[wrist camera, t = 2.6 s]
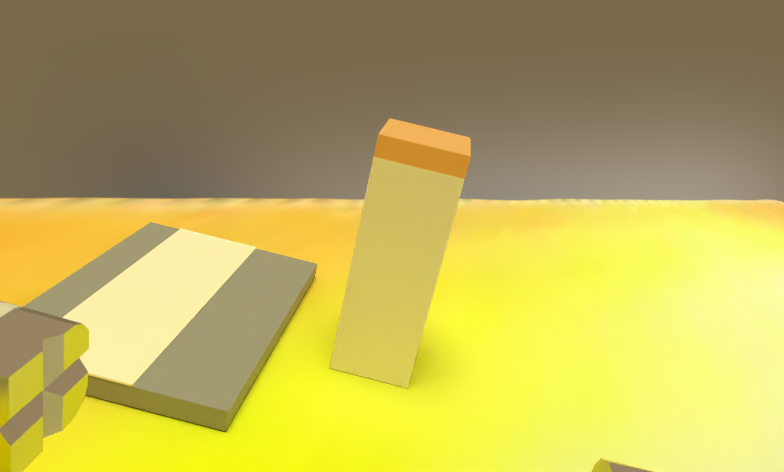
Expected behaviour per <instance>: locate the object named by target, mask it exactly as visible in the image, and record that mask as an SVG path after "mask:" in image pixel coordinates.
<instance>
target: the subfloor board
mask: <svg viewBox="0 0 784 472" xmlns="http://www.w3.org/2000/svg"><path fill="white" fill-rule="evenodd" d="M256 248H257V247H253V246H249V245H245V244H241V243H237V242H233V241H229V240H225V239H221V238H217V237H213V236H209V235H205V234H202V233H198V232H194V231H190V230H186V229H182V228H181V229H176V228H172V227H168V226H164V225H160V224H156V223H152V222H150V223H149V224H147V225H146V226H144V227H143V228H141V229H140V230H138V231H137V232H135V233H134V234H132V235H131V236H129V237H128V238H126V239H125V240H123V241H122V242H120V243H119V244H117V245H116V246H114V247H113V248H111V249H110V250H108V251H107V252H105V253H104V254H102V255H101V256H99V257H98V258H96V259H94V260H93V261H91V262H90V263H88V264H87V265H85V266H84V267H82V268H81V269H79V270H78V271H76V272H75V273H73V274H72V275H70V276H69V277H67V278H66V279H64V280H63V281H61V282H60V283H58V284H57V285H55V286H54V287H52V288H51V289H49V290H48V291H46V292H45V293H43V294H41V295H40V296H38V297H37V298H35V299H34V300H32V301H31V302H29V303H28V304H26V305H25V306H23V307H26V308H29V309H33V310H36V311H40V312H43V313H47V314H50V315H54V316H58V317H61V318H65V319H68V320H72V321H75V322H79V323H82V324H84V325H85V326H86V327H87V328H88V330H89V349H88V350H87V351H86V352H85V353H84V354H83V355H82V356H81V357H79V358H80V360H81V361H82V363H83V364H84V366H85V368H86V369H87V371H88V386H87V389H86V393H85V395H88V396H92V397H96V398H100V399H104V400H107V401H111V402H115V403H119V404H123V405H127V406H130V407H134V408H138V409H142V410H146V411H149V412H153V413H157V414H161V415H165V416H168V417H172V418H176V419H180V420H184V421H188V422H191V423H195V424H199V425H203V426H207V427H210V428H214V429H218V430H222V431H226V430H227V428H228V426H229V425H230V423H231V421H232V419H233V418H234V416H235V414H236V413H237V411H238V409H239V407H240V406H241V404H242V402H243V400H244V399H245V397H246V395H247V394H248V392H249V390H250V388H251V387H252V385H253V383H254V381H255V380H256V378H257V376H258V375H259V373H260V371H261V369H262V368H263V366H264V364H265V363H266V361H267V359H268V357H269V356H270V354H271V352H272V350H273V349H274V347H275V345H276V344H277V342H278V340H279V338H280V337H281V335H282V333H283V332H284V330H285V328H286V326H287V325H288V323H289V321H290V319H291V318H292V316H293V314H294V313H295V311H296V309H297V307H298V306H299V304H300V302H301V301H302V299H303V297H304V295H305V294H306V292H307V290H308V288H309V287H310V285H311V283H312V282H313V280H314V278H315V273H316V268H317V264H315V263H311V262H307V261H303V260H299V259H295V258H291V257H287V256H283V255H279V254H275V253H271V252H267V251H263V250H259V249H256Z"/></svg>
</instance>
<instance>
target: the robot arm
mask: <svg viewBox="0 0 784 472" xmlns="http://www.w3.org/2000/svg"><path fill="white" fill-rule="evenodd" d="M88 349H89V330H88V328H87V327H86V326H85V325H84V324H82V323H79V322H75V321H72V320H68V319H65V318H61V317H58V316H54V315H50V314H47V313H43V312H40V311H36V310H33V309H29V308H26V307H21V306H18V305H14V304H10V303H6V302H3V301H0V472H22V471H23V470H24V469H25V468H26V467H27V466H28V465H29V464H30V463H31V462H32V461H33V460H34V459H35V458H36V457H37V456H38V455H39V454H40V453H41V452H42V451H43V438H44V437H47V436H49V435H52V434H54V433H57V432H60V431H62V430H63V429H64V428H65V427H66V426H67V425H68V424H69V423H70V422H71V420H72V419H73V418H74V417H75V415H76V413H77V411H78V410H79V408H80V406H81V404H82V402H83V400H84V397H85V393H86V389H87V386H88V371H87V369H86V368H85V366H84V364H83V363H82V361H81V360H80V358H79V357H81V356H82V355H83V354H84V353H85V352H86V351H87V350H88ZM592 472H653V471H649V470H645V469H641V468H637V467H633V466H629V465H625V464H621V463H618V462H614V461H610V460H606V459H602V458H601V459H600V460H599V461H598V462H597V463H596V464H595V465H594V468H593V470H592Z"/></svg>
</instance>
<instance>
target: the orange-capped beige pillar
mask: <svg viewBox="0 0 784 472" xmlns="http://www.w3.org/2000/svg"><path fill="white" fill-rule="evenodd" d="M470 156H471V145H470V138H469V137H465V136H461V135H457V134H453V133H449V132H445V131H440V130H436V129H432V128H428V127H424V126H420V125H415V124H411V123H407V122H403V121H399V120H394V119H391V118H390V119H389V120H388V122H387V123H386V124H385V126H384V127H383V129H382V130H381V131H380V133H379V134H378V138H377V143H376V148H375V153H374V157H373V162H372V167H371V172H370V177H369V181H368V186H367V191H366V195H365V200H364V205H363V210H362V215H361V219H360V224H359V229H358V234H357V238H356V243H355V248H354V253H353V257H352V262H351V267H350V272H349V277H348V281H347V286H346V291H345V296H344V300H343V305H342V310H341V315H340V319H339V324H338V329H337V334H336V339H335V343H334V348H333V353H332V358H331V362H330V367H329V368H331V369H335V370H338V371H342V372H346V373H350V374H354V375H358V376H362V377H366V378H370V379H374V380H377V381H381V382H385V383H389V384H393V385H397V386H401V387H405V388H408V385H409V381H410V377H411V374H412V370H413V366H414V363H415V359H416V355H417V352H418V348H419V344H420V341H421V337H422V333H423V330H424V326H425V322H426V319H427V315H428V311H429V307H430V304H431V300H432V296H433V293H434V289H435V285H436V282H437V278H438V274H439V271H440V267H441V263H442V260H443V256H444V252H445V249H446V245H447V241H448V238H449V234H450V230H451V227H452V223H453V219H454V216H455V212H456V208H457V205H458V201H459V197H460V194H461V190H462V186H463V183H464V179H465V175H466V172H467V168H468V164H469V160H470Z"/></svg>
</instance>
